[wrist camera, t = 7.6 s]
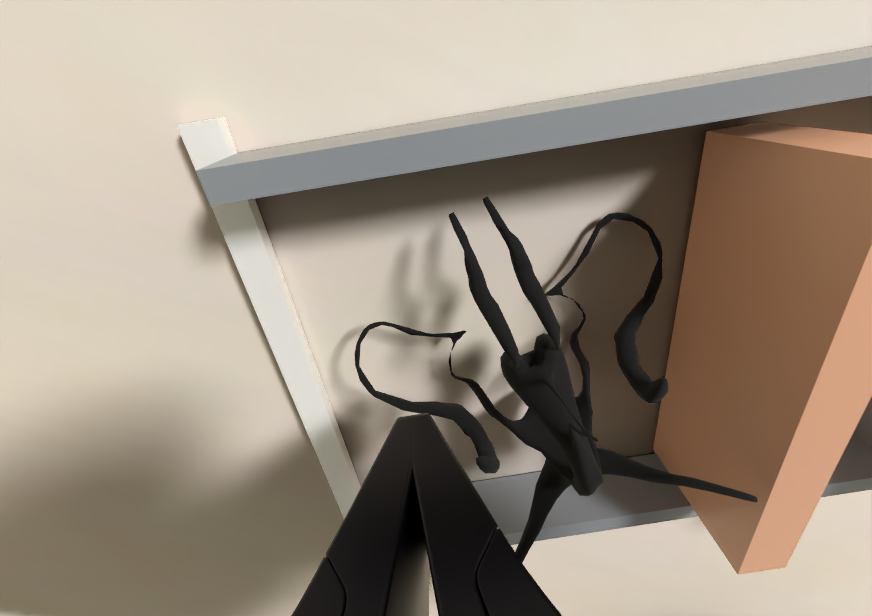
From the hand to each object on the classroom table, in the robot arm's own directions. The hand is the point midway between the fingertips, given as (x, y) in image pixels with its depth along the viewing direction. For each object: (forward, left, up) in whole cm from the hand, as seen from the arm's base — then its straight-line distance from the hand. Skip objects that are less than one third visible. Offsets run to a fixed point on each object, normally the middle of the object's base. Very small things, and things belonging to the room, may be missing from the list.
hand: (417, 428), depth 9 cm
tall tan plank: (0, -8, -3) cm, 8 cm away
